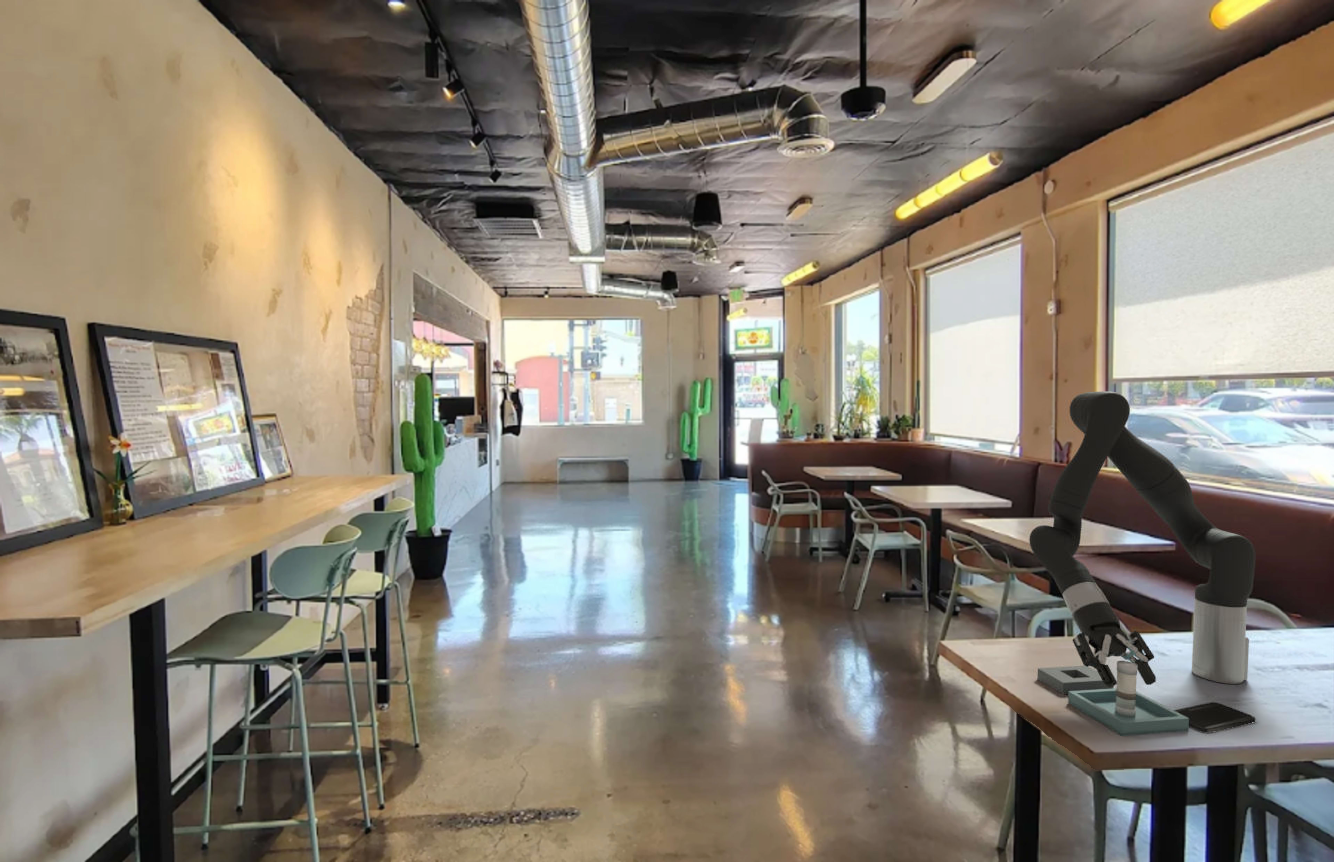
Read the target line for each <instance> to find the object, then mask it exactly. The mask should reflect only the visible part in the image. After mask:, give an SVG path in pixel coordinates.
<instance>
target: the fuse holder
mask: <svg viewBox="0 0 1334 862" xmlns="http://www.w3.org/2000/svg"><path fill="white" fill-rule="evenodd" d="M1037 680H1038V681H1039V682H1041V683H1043V684H1045V685H1046V686H1047V687H1050V688H1051V689H1053V690H1055V691H1057V692H1058V693H1060V694H1062V695H1068V692H1069V691H1081V690H1097V689H1113V688H1114V687H1115V685H1114V686H1113V687H1108V686H1107V685H1106V684H1105V683H1104V682H1103V681H1102V679H1101V677H1100V675H1099V673H1098V671H1097V670H1096V669H1095V668H1094V669H1093V667H1092V668H1091V666H1088V667H1086V666H1085V665H1071V666H1054V667H1053V666H1052V667H1038V668H1037Z"/></svg>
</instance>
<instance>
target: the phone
mask: <svg viewBox="0 0 1334 862" xmlns="http://www.w3.org/2000/svg"><path fill="white" fill-rule="evenodd" d="M1173 710H1174V711H1176V712H1178V713H1180V714H1181V715H1183V716H1185V717H1187V718H1189V727H1188V728H1191V729H1193V730H1196V731H1198V732H1200V731H1201V732H1200V733H1204V732H1211V733H1214V732H1213V731H1216V732H1220V731H1223V730H1224V729H1225V730H1229V729H1233V728H1238V727H1242V726H1241V725H1243V726H1245V725H1244V724H1247V725H1249V724H1248V723H1252V722H1255V723H1256V717H1255V716H1253V715H1251V714H1248V713H1246V712H1244V711H1241V710H1239V709H1238V710H1237V709H1235V708H1233V707H1230V706H1228V705H1225V704H1223V703H1220V702H1207V703H1202V704H1197V705H1193V706H1192V705H1191V706H1188V707H1183V708H1178V709H1173ZM1252 724H1253V723H1252ZM1232 727H1233V728H1232ZM1228 728H1229V729H1228ZM1219 730H1220V731H1219ZM1225 730H1224V731H1225Z"/></svg>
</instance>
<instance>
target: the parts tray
mask: <svg viewBox="0 0 1334 862" xmlns="http://www.w3.org/2000/svg"><path fill="white" fill-rule="evenodd" d="M1067 695H1068V698H1067V699H1068V700H1067V703H1068V704H1069V705H1071V706H1072V707H1074V708H1076V710H1079V711H1080V712H1082V713H1083V714H1085V715H1087V716H1088V717H1091V718H1092V719H1093V720H1095V721H1097V722H1099V723H1100V724H1102V725H1103V726H1105V727H1107V728H1108V729H1110V730H1112V731H1113V732H1115V733H1117V734H1118V735H1121V736H1122V737H1128V736H1142V735H1156V734H1157V735H1158V734H1167V733H1170V732H1171V733H1181V732H1183V733H1185V732H1189V728H1190V727H1189V718H1187V717H1185V716H1183V715H1181V714H1180V713H1178V712H1176V711H1174V710H1175V709H1171V708H1169V707H1168V706H1167V705H1164V704H1162V703H1160V702H1158V701H1156V700H1154V699H1152V698H1151V697H1149V696H1146V695H1144V694H1142V693H1141V692H1139V691H1137V690H1136V702H1135V707H1136V716H1135V717H1124V716H1121V715H1119V714H1117V713H1116V712H1115V703H1116V687H1115V688H1114V687H1113V689H1097V690H1081V691H1069V692H1068V694H1067Z"/></svg>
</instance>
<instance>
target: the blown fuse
mask: <svg viewBox="0 0 1334 862" xmlns="http://www.w3.org/2000/svg"><path fill="white" fill-rule="evenodd" d="M1137 667H1138V666H1137V665H1136V664H1135V663H1132V662H1131V661H1129V660H1117V661H1116V681H1117V684H1116V687H1115V688H1116V703H1115V712H1116V713H1117V714H1119V715H1121V716H1124V717H1135V716H1136V707H1135V702H1136V691H1137V675H1138V670H1137Z"/></svg>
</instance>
